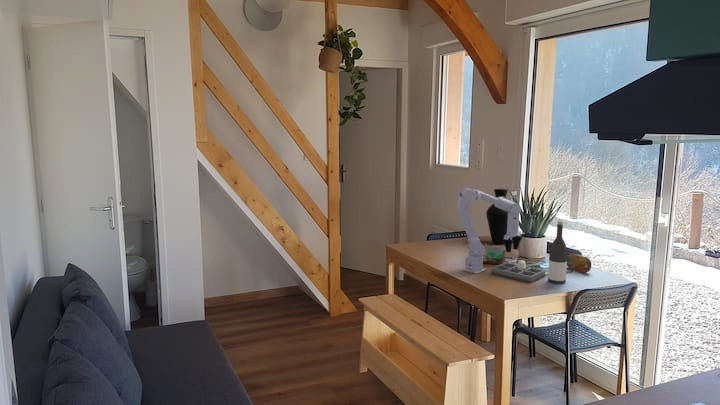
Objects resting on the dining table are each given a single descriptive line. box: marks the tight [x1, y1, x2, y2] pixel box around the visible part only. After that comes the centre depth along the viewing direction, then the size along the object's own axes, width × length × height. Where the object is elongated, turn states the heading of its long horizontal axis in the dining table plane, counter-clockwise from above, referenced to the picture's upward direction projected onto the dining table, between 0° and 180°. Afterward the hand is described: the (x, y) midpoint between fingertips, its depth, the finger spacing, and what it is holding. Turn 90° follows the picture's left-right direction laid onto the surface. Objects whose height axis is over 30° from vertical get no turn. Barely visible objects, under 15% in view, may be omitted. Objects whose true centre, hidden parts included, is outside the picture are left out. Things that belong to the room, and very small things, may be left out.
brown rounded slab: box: [567, 253, 592, 274], centre depth 266 cm, size 15×3×8 cm, turn 23°
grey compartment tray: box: [490, 262, 546, 284], centre depth 259 cm, size 15×22×3 cm
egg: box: [517, 259, 527, 270], centre depth 261 cm, size 4×4×6 cm
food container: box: [484, 244, 507, 265], centre depth 281 cm, size 12×6×10 cm, turn 62°
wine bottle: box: [547, 220, 568, 285], centre depth 246 cm, size 8×8×30 cm
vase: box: [485, 188, 508, 246], centre depth 325 cm, size 17×17×35 cm
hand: (511, 250), depth 267 cm, fingers open, 7 cm apart
